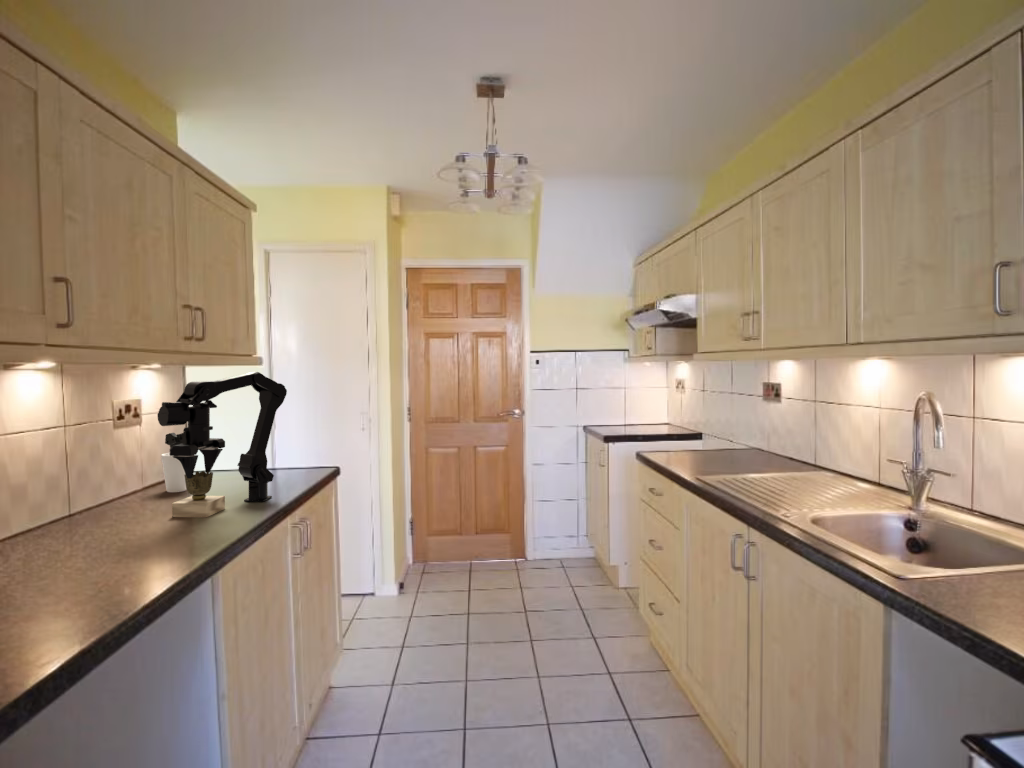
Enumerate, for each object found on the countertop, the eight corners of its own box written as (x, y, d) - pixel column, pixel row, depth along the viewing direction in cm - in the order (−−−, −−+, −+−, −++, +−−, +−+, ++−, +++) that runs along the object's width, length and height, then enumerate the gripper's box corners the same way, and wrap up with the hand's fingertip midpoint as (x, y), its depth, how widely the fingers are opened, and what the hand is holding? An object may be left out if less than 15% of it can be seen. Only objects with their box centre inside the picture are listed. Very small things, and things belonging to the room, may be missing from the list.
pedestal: (193, 508, 169) (192, 495, 168) (224, 508, 168) (224, 495, 168) (172, 516, 159) (172, 503, 158) (205, 517, 158) (205, 503, 158)
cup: (191, 503, 158) (190, 476, 158) (180, 499, 162) (180, 473, 162) (217, 499, 164) (217, 472, 164) (206, 495, 168) (206, 469, 168)
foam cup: (198, 488, 196) (198, 452, 196) (176, 494, 187) (176, 456, 187) (177, 486, 199) (177, 451, 198) (155, 492, 190) (154, 455, 189)
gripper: (191, 420, 172) (191, 469, 173) (150, 426, 154) (151, 481, 154) (226, 420, 172) (226, 470, 172) (189, 426, 153) (189, 481, 154)
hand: (198, 475), depth 163 cm, fingers open, 9 cm apart
